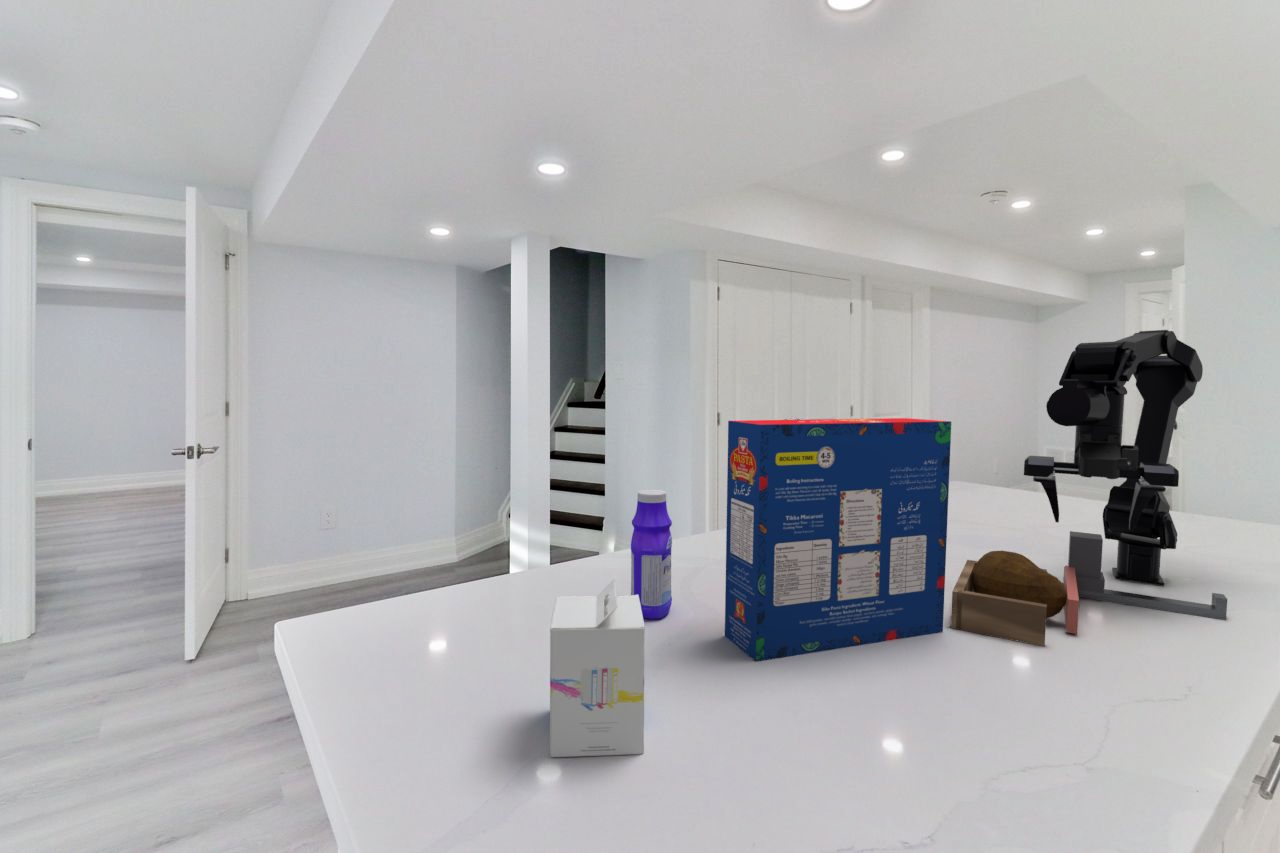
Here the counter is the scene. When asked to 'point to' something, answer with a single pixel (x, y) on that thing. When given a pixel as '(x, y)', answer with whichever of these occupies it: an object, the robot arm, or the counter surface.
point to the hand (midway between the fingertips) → (1093, 525)
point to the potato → (1018, 580)
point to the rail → (1163, 602)
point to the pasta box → (834, 533)
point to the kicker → (1082, 573)
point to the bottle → (651, 554)
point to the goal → (996, 612)
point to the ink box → (597, 675)
